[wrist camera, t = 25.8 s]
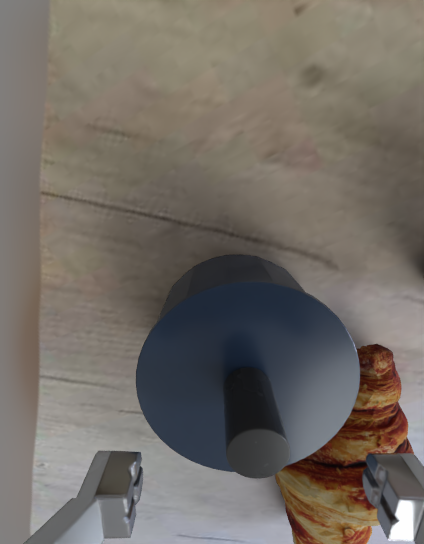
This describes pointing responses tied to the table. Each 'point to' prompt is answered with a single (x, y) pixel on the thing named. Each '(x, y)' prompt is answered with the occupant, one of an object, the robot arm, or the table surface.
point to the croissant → (347, 460)
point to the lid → (248, 376)
